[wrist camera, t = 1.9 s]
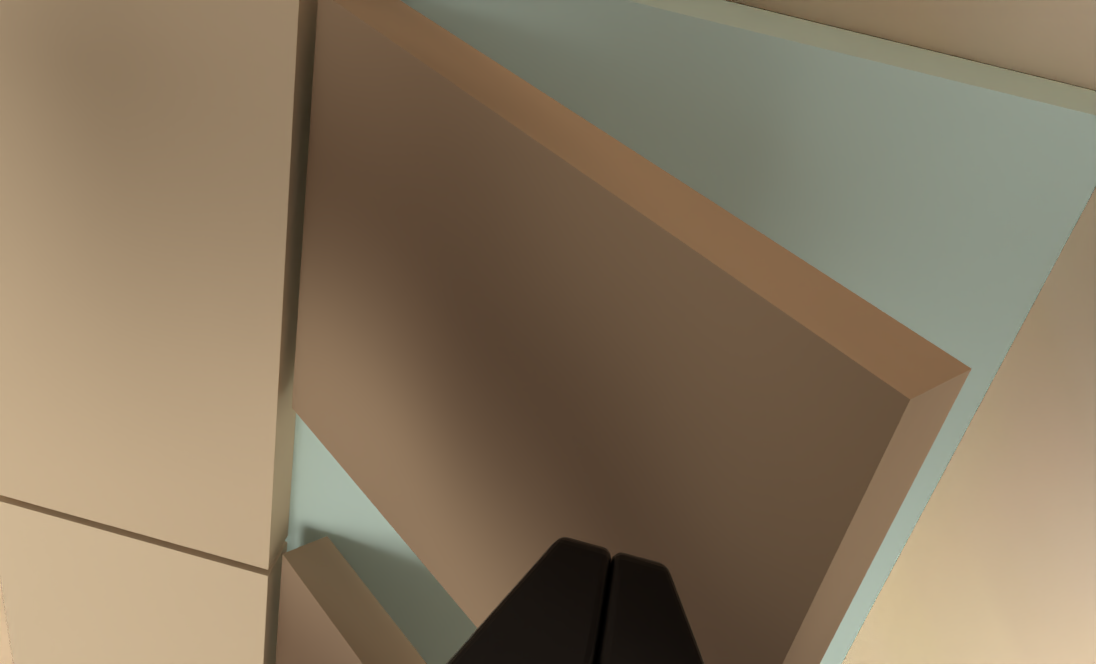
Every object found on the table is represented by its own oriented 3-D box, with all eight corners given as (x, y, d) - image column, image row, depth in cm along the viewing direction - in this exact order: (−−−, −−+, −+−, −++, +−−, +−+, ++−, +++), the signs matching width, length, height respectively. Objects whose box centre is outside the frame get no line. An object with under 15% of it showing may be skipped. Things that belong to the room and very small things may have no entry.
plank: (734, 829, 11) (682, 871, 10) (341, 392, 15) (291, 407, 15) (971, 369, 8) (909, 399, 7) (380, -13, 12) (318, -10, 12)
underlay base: (726, 836, 21) (722, 924, 20) (73, 649, 22) (21, 721, 20) (1105, 94, 12) (1150, 151, 11) (-11, -180, 13) (-114, -161, 12)
